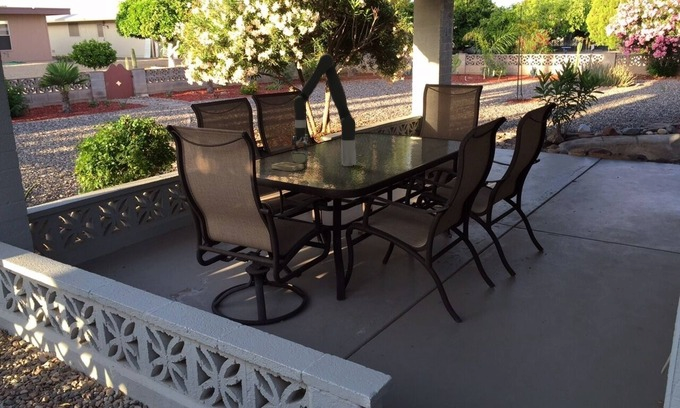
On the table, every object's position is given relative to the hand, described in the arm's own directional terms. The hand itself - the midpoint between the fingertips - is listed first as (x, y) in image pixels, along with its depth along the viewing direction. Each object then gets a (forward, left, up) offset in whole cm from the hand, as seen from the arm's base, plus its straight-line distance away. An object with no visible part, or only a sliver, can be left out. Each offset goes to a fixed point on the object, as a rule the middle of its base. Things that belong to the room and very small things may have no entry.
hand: (300, 150), depth 396 cm
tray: (+13, 0, -10) cm, 17 cm away
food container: (0, 0, -11) cm, 11 cm away
